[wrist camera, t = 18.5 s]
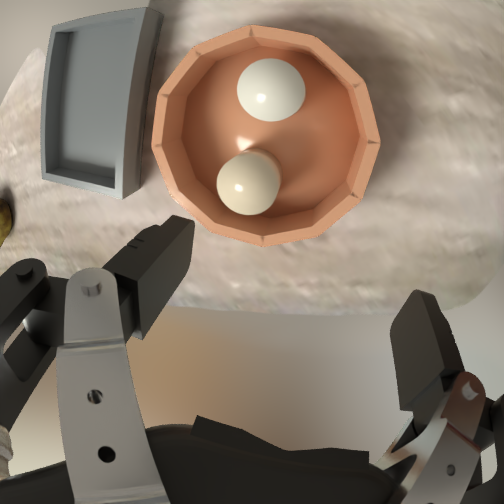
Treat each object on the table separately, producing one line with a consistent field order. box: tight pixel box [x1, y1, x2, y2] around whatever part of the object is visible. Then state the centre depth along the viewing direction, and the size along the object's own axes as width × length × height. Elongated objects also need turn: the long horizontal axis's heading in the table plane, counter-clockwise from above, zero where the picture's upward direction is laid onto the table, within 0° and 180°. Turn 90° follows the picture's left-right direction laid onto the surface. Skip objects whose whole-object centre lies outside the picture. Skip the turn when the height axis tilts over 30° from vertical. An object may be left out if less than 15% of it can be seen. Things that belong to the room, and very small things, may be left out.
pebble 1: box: [237, 58, 306, 122], centre depth 20 cm, size 5×5×4 cm
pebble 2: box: [217, 148, 283, 215], centre depth 25 cm, size 5×5×4 cm
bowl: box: [151, 25, 381, 247], centre depth 23 cm, size 18×18×5 cm
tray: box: [41, 7, 164, 200], centre depth 25 cm, size 20×14×4 cm
